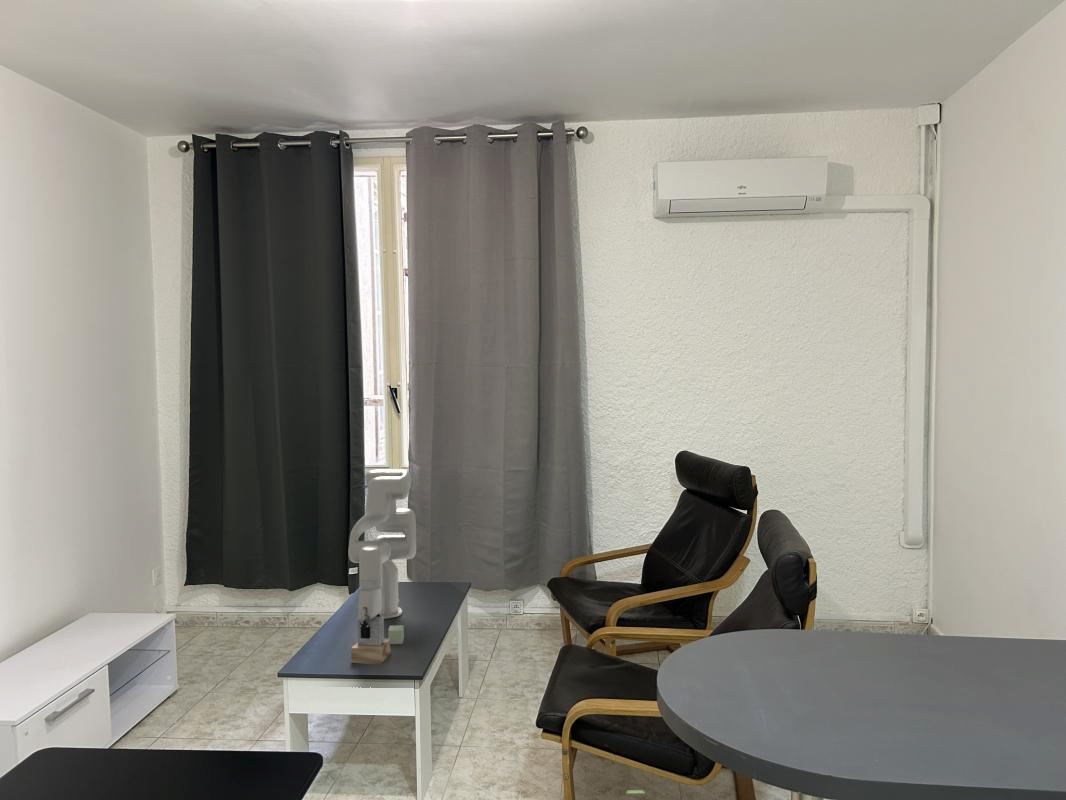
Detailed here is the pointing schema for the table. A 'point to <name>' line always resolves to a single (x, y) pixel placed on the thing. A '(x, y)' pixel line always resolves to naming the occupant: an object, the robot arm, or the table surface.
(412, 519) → the robot arm
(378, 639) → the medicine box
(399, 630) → the green cube
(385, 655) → the oak block
